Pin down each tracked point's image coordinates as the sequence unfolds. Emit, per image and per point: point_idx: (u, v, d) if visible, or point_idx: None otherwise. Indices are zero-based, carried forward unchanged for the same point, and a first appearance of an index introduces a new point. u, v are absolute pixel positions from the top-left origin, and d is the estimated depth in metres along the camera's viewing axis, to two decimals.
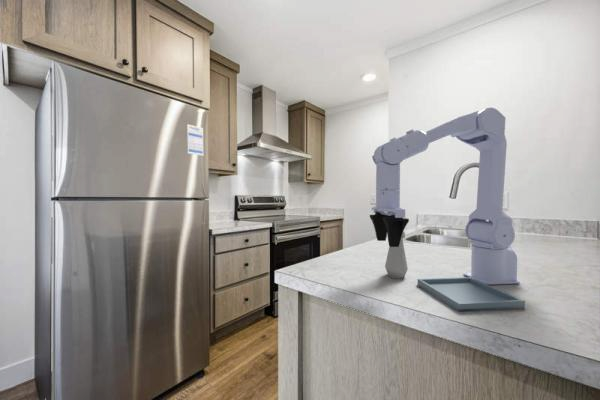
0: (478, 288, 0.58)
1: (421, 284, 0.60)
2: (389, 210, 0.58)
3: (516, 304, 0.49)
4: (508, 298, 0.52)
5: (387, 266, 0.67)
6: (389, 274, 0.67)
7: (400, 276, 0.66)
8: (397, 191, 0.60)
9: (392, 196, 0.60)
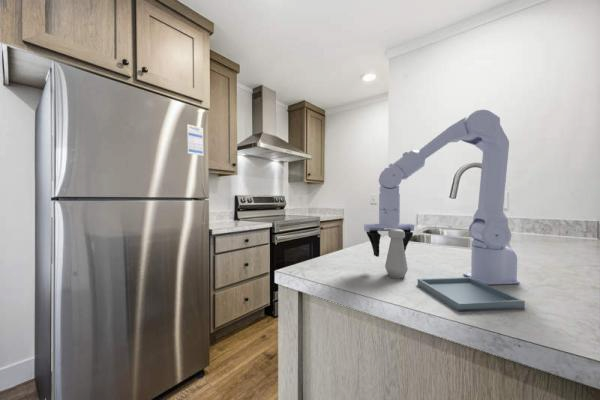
0: (478, 288, 0.58)
1: (421, 284, 0.60)
2: None
3: (516, 304, 0.49)
4: (508, 298, 0.52)
5: (387, 266, 0.67)
6: (389, 274, 0.67)
7: (400, 276, 0.66)
8: (383, 211, 0.70)
9: (379, 214, 0.72)
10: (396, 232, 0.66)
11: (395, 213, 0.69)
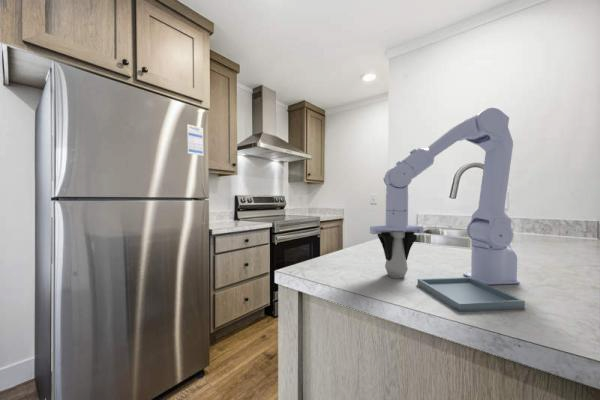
0: (478, 288, 0.58)
1: (421, 284, 0.60)
2: None
3: (516, 304, 0.49)
4: (508, 298, 0.52)
5: (387, 266, 0.67)
6: (389, 274, 0.67)
7: (400, 276, 0.66)
8: (390, 212, 0.66)
9: (386, 216, 0.68)
10: (396, 232, 0.66)
11: (403, 214, 0.65)
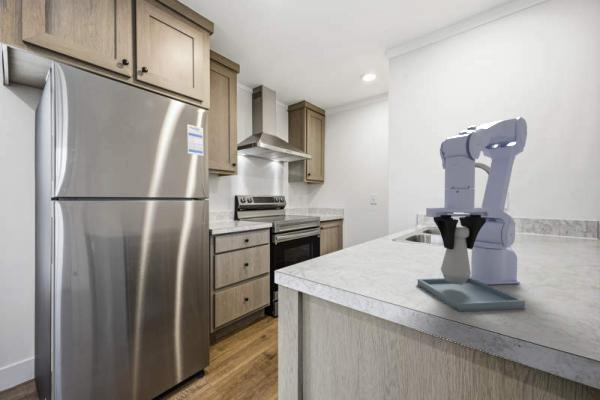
0: (478, 288, 0.58)
1: (421, 284, 0.60)
2: None
3: (516, 304, 0.49)
4: (508, 298, 0.52)
5: (444, 269, 0.57)
6: (446, 278, 0.57)
7: (461, 282, 0.55)
8: (453, 190, 0.54)
9: (447, 195, 0.56)
10: (458, 230, 0.54)
11: (470, 192, 0.53)
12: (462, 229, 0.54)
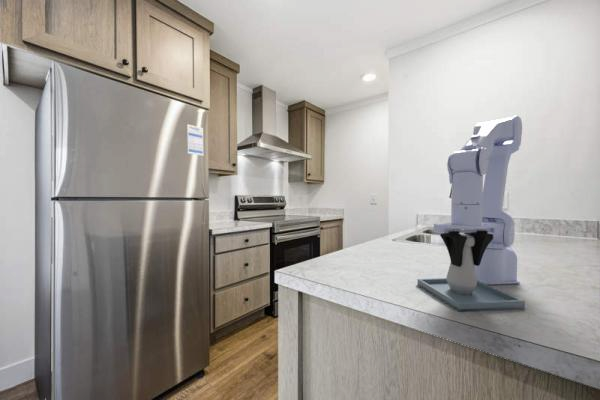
0: (478, 288, 0.58)
1: (421, 284, 0.60)
2: None
3: (516, 304, 0.49)
4: (508, 298, 0.52)
5: (450, 279, 0.55)
6: (452, 289, 0.55)
7: (467, 292, 0.54)
8: (461, 205, 0.53)
9: (454, 211, 0.54)
10: None
11: (479, 209, 0.52)
12: (468, 238, 0.54)
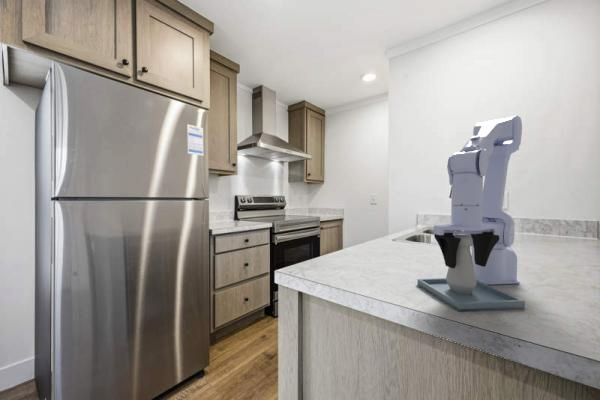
0: (478, 288, 0.58)
1: (421, 284, 0.60)
2: None
3: (516, 304, 0.49)
4: (508, 298, 0.52)
5: (450, 279, 0.55)
6: (452, 289, 0.56)
7: (467, 292, 0.54)
8: (461, 207, 0.53)
9: (454, 212, 0.54)
10: (462, 239, 0.54)
11: (479, 210, 0.52)
12: (466, 238, 0.54)
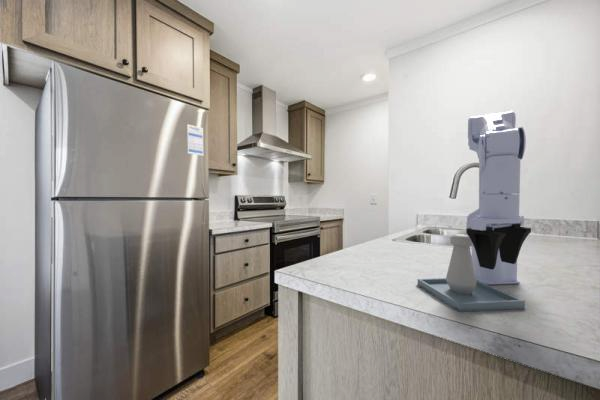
0: (478, 288, 0.58)
1: (421, 284, 0.60)
2: None
3: (516, 304, 0.49)
4: (508, 298, 0.52)
5: (450, 279, 0.55)
6: (452, 289, 0.56)
7: (467, 292, 0.54)
8: (501, 195, 0.44)
9: (490, 202, 0.45)
10: (462, 239, 0.54)
11: (518, 199, 0.44)
12: (466, 238, 0.54)
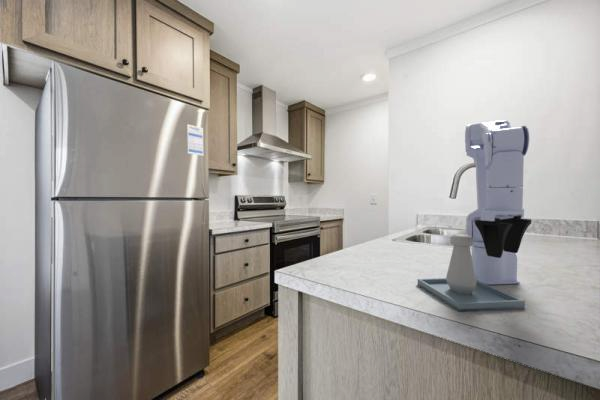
0: (478, 288, 0.58)
1: (421, 284, 0.60)
2: None
3: (516, 304, 0.49)
4: (508, 298, 0.52)
5: (450, 279, 0.55)
6: (452, 289, 0.56)
7: (467, 292, 0.54)
8: (507, 189, 0.47)
9: (496, 195, 0.49)
10: (462, 239, 0.54)
11: (522, 192, 0.48)
12: (466, 238, 0.54)
